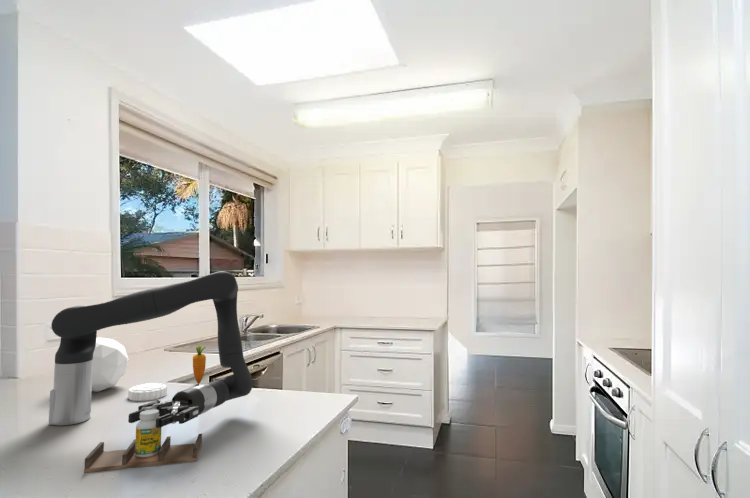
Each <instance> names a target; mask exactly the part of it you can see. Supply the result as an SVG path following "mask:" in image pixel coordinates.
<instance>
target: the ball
mask: <svg viewBox="0 0 750 498" xmlns="http://www.w3.org/2000/svg"><path fill="white" fill-rule="evenodd" d="M129 362H130V359H129V356H128V353H127V350H126V347H125V346H124V345H123V344H122V343H120V342H119V341H117V340H115V339H112V338H108V337H96V346H95V350H94V353H93V371H92V392H101V391H103V390H106V389H109V388H111V387H114V386H116V385H117V384H118V383H119V381H120V380H121V379H122V378H123V377H124V375H125V374H126V371H127V368H128V365H129Z"/></svg>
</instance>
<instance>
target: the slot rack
mask: <svg viewBox="0 0 750 498" xmlns="http://www.w3.org/2000/svg"><path fill="white" fill-rule="evenodd" d="M171 438H172V437H171V435H170V436H169V435H168V436H166V438H164V439H165V440H164V441H163V443H162V444H161V448H160V450H159V452H158V454H156V455H154V456H151V457H143V458H141V457H137V456H136V455H135V444H136V438H135V439H133V441H132V442H131V443H130V444H129V446H128V447H127V448H126V449H118V450H117V449H116V450H107V451H106V450H105V451H104V449H105V448H104V447H105V442H104V441H99V443H98V444H97V445H96V446H95V447H94V448H93V449H92V450H91V451H90V453H88V455H86V457H85V458H84V469H83V473H85V474H86V473H93V472H95V473H96V472H104V471H113V470H115V471H116V470H124V469H125V470H126V469H133V468H143V467H144V468H145V467H154V466H162V465H163V466H164V465H165V466H166V465H173V464H181V463H192V462H193V463H194V462H197V461H198V460H199V456H200V453H201V450H202V447H203V433H198V435H197V438H196V440H195V442H193V443H184V444H183V443H182V444H171Z"/></svg>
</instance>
